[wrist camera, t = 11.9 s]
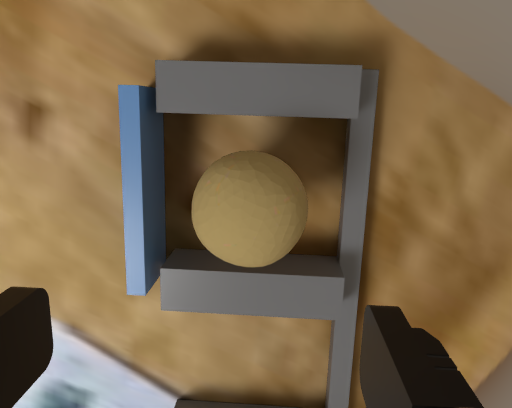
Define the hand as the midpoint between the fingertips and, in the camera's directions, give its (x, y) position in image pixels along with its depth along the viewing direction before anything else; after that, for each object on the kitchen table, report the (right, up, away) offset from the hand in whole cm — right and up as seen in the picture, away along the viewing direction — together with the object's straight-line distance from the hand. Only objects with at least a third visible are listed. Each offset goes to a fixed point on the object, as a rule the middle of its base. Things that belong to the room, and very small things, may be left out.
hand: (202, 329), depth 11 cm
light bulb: (+1, +4, +20) cm, 20 cm away
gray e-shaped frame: (+1, -2, +21) cm, 21 cm away
